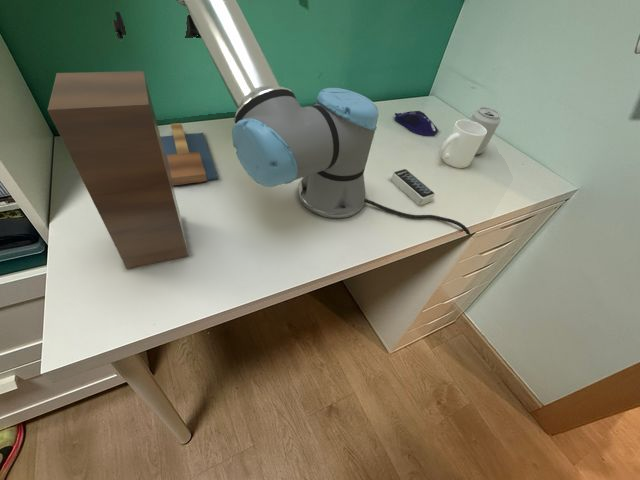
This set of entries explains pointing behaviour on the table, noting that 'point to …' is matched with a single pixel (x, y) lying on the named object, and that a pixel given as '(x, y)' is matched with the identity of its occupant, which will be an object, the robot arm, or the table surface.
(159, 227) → the plinth
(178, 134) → the paddle
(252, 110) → the robot arm
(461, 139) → the mug
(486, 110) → the can
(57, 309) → the table surface
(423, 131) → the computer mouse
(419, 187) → the multiport hub
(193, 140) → the mat
